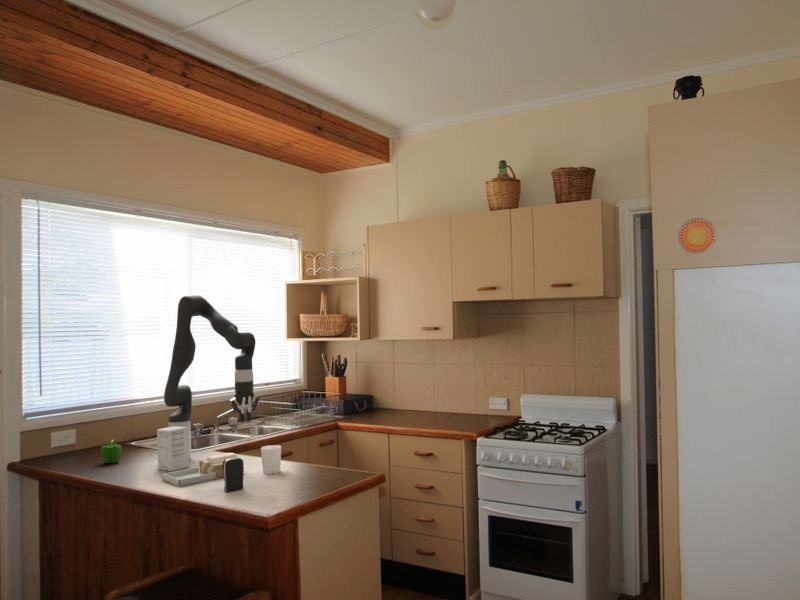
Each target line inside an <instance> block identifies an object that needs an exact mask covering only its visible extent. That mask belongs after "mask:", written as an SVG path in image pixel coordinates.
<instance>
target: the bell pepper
mask: <svg viewBox="0 0 800 600" xmlns="http://www.w3.org/2000/svg"><path fill="white" fill-rule="evenodd" d="M114 442H115V440H114V439H111V440H110V444H107V445H103V446H101V447H100V454H101V458H102V461H103V463H104V464H105V463H111V464H116V463H115V462H117V463H119V462H120V459H121V456H122V450H123V449H122V448H123V447H122V445H121V444H117V443H114ZM118 461H119V462H118Z"/></svg>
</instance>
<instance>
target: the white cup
mask: <svg viewBox="0 0 800 600" xmlns="http://www.w3.org/2000/svg"><path fill="white" fill-rule="evenodd" d="M260 452H261V454H260V455H261V465H262V473H263V474H264V473H266V474H265V475H273V474H272V473H275V474H279V473H280V472H281V464H282V463H281V461H282V446H281V445H279V444H278V445H276V444H275V445H274V444H273V445H265V446H261V448H260ZM278 472H279V473H278Z"/></svg>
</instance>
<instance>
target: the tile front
mask: <svg viewBox="0 0 800 600" xmlns="http://www.w3.org/2000/svg"><path fill="white" fill-rule="evenodd" d="M206 459H207V462H209V463H212V464H213V463H219V462H223V461H224V456H221V455H220V454H214V455H210V456H206Z"/></svg>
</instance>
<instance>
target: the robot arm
mask: <svg viewBox="0 0 800 600" xmlns="http://www.w3.org/2000/svg"><path fill="white" fill-rule="evenodd" d="M176 316H177V317H176V327H175V329H176V331H175V338H174V344H173V348H172V354H171V355H172V356H171V364H170V368H169V371H168V372H169V373H168V377H167V380H166V385H165V388H164V392H163V393H164V394H163V400H164V404H165V406H167V407H168V408H170V407H171V408H172V407H173V408H174V407H178V408H177V410H176V411H174V412H173V413H171V414H170V415H169V416H168V427H173V426H179V427H188V435H189V460H191V459H192V439H191V437H192V435H191V434H192V433H191V430H192V429H191V428H192V427H191V415H192V406H193V405H192V402H193V398H192V397H193V395H192V389H191V387H190V385H188V384H180V381H181V379H182V377H183V376H184V374H185V372H186V371H187V370H188V369H189V367H190V366H191V365H192V364H193V361H194V359H195V353H196V341H195V339H194V336H193V334H192V333H193V332H192V331H191V323H192V318H193V317H199V316H200V317H202V318H205V319H206V320H208V321H209V324H210V326H211V328H212V329H213V330H214V331H215V333H217V334H218V335H220V336H221V337H222V338H224V339H225V341H227V343H228V344H229V345H230V347H232V348H233V349H235V350H240V353H239V355H237V356H236V357H235V358H234V369H235V370H234V392H235V395H234V397H232V398H231V399H229V400H228V403H229V404H230V406H231V408H232V409H233V411H234V412H235V413H238V418H239V420H238V421H239V422H240V423H245V422H247V423H249V422H250V421H251V420H252V418H251V417H252V416H251V415H252V412H253V411H255V410H256V408H257V406H258V404H259V401H260V397H259V396H256V395H255V394H254V371H253V358H254V353H255V348H256V338H255V335H254V334H253V333H251V332H249V331H247V332H246V331H244V332H239V328H238V326H237V325H236V324H235V323H233V322H231V321H230V320H229V319H228V318H226V317H224V316H223V315H222V314H221V313H220V312H219V311H218V310H217V309H216V308H215V307H214V306H213V305H212V304H211V303H210V302H209V301H208V300H207V299H206V298H205V297H203V295H202V296H201V295H199V294H198V295H197V294H195V295H184V296H182V297H181V298H180V299H179V301H178V304H177V315H176ZM179 384H180V385H179Z"/></svg>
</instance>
